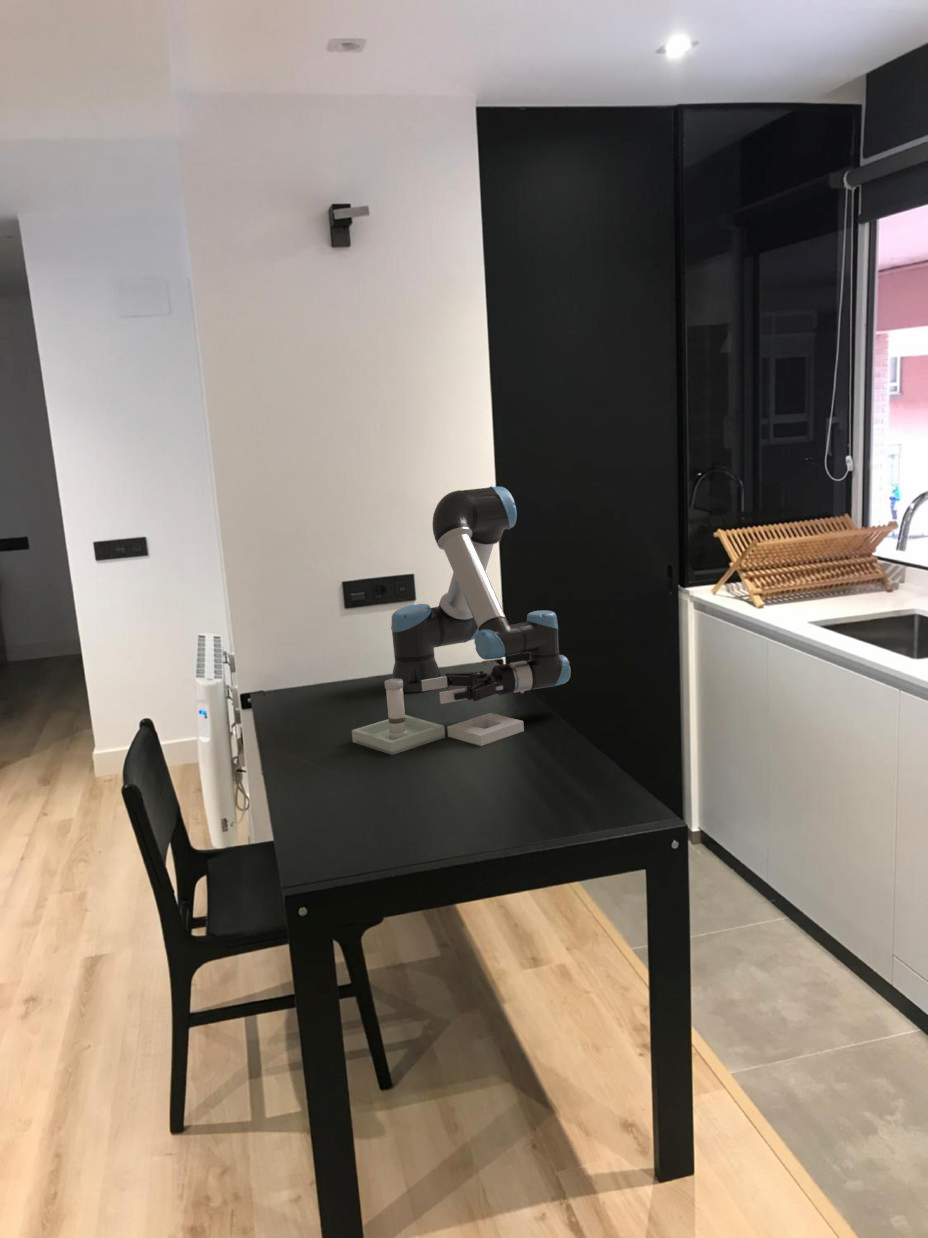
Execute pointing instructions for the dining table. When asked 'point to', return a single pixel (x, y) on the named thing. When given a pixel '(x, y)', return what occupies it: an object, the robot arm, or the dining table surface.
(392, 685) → the fuse
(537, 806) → the dining table surface
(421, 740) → the parts tray
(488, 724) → the socket block
